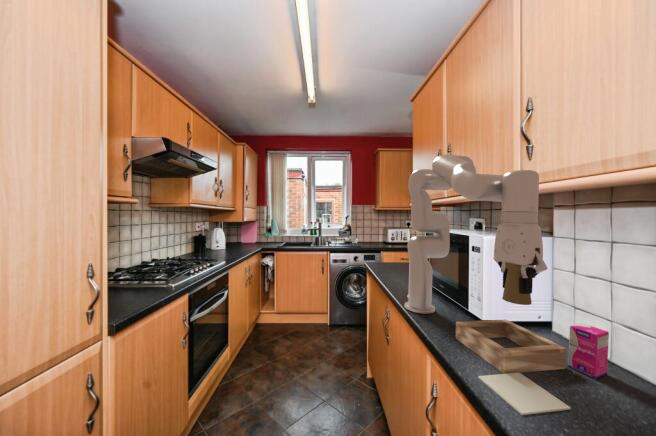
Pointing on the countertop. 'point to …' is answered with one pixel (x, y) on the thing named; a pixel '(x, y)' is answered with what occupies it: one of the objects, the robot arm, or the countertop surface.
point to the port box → (511, 360)
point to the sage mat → (523, 393)
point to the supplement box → (588, 350)
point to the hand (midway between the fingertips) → (516, 289)
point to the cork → (514, 286)
